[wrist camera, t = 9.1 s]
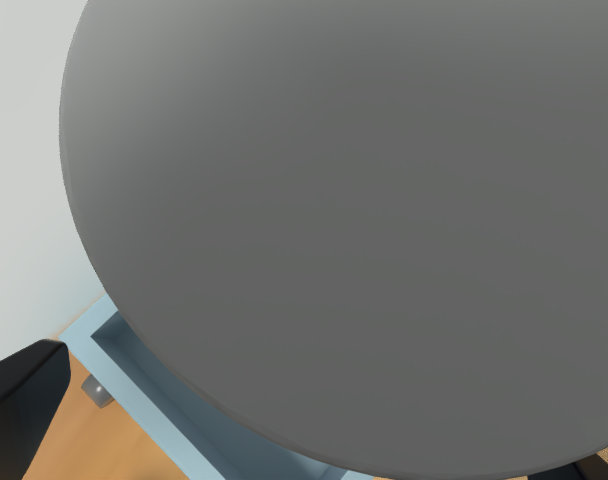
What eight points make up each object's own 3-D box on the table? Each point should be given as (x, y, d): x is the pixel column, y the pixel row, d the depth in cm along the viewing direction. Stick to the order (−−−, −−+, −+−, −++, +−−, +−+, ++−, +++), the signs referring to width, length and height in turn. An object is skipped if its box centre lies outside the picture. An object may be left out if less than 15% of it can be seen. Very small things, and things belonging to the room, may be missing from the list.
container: (335, 245, 18) (573, -225, 4) (379, 360, 17) (952, 328, 3) (221, 282, 17) (-30, -116, 3) (258, 405, 16) (146, 692, 2)
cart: (259, 568, 16) (254, 626, 13) (73, 369, 18) (21, 369, 14) (499, 275, 20) (550, 254, 16) (328, 127, 21) (340, 77, 18)
